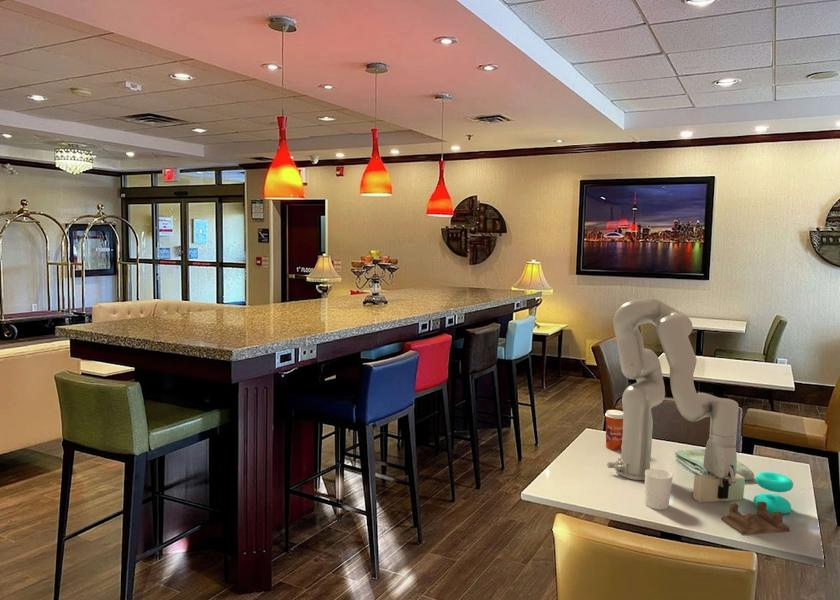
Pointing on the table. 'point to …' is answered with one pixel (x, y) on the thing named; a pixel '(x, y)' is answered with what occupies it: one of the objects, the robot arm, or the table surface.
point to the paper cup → (614, 429)
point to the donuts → (774, 484)
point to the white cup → (657, 488)
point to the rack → (755, 520)
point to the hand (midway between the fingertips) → (718, 494)
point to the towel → (695, 463)
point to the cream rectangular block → (716, 488)
